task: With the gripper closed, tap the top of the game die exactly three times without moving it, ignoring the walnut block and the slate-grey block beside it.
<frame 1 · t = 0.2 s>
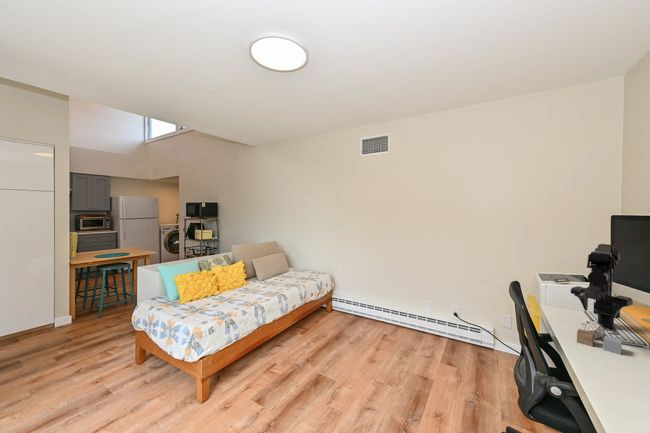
hand: (599, 314, 118), 14 cm above the table, fingers open, 9 cm apart
walnut block: (585, 342, 120), on the table
slate block: (612, 350, 114), on the table
game die: (593, 338, 124), on the table
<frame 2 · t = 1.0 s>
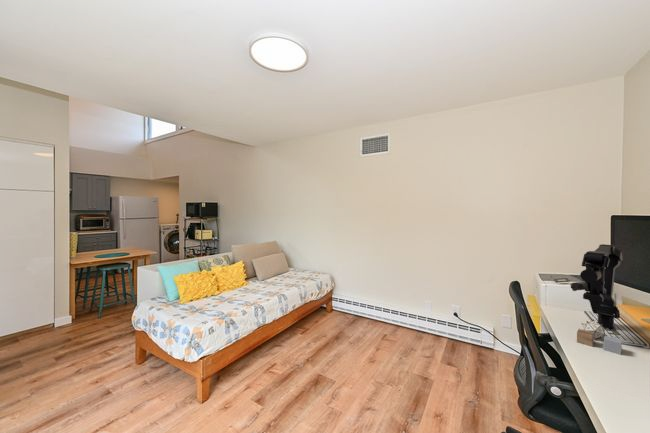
hand: (594, 310, 124), 13 cm above the table, fingers open, 3 cm apart
nothing on the table moved.
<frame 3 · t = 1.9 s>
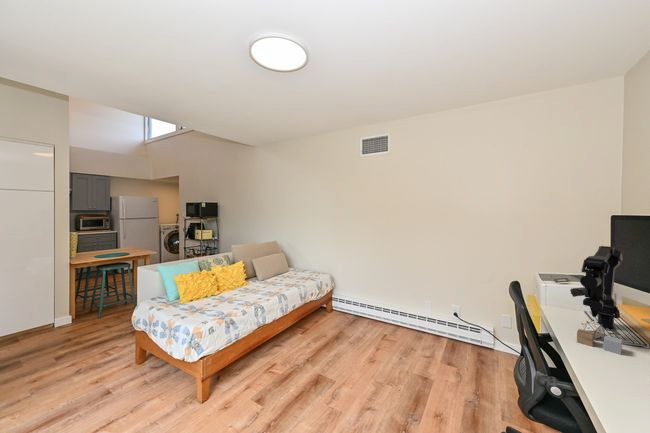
hand: (594, 316, 124), 10 cm above the table, fingers closed
nothing on the table moved.
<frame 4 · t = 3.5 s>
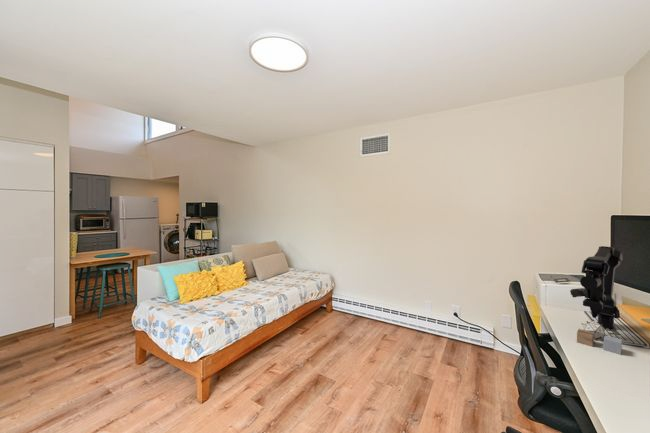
hand: (594, 317, 124), 10 cm above the table, fingers closed
nothing on the table moved.
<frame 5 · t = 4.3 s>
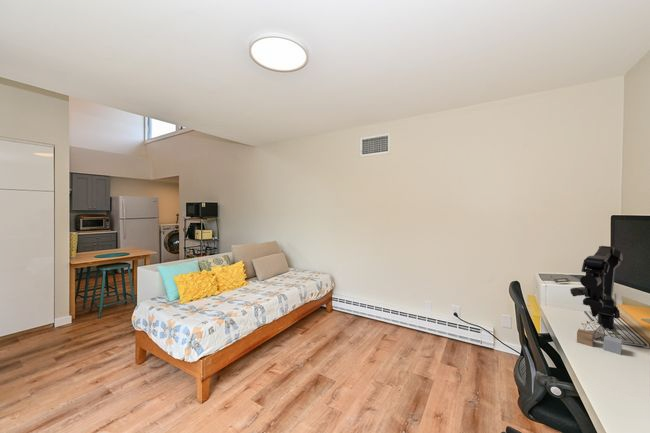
hand: (594, 316, 124), 10 cm above the table, fingers closed
nothing on the table moved.
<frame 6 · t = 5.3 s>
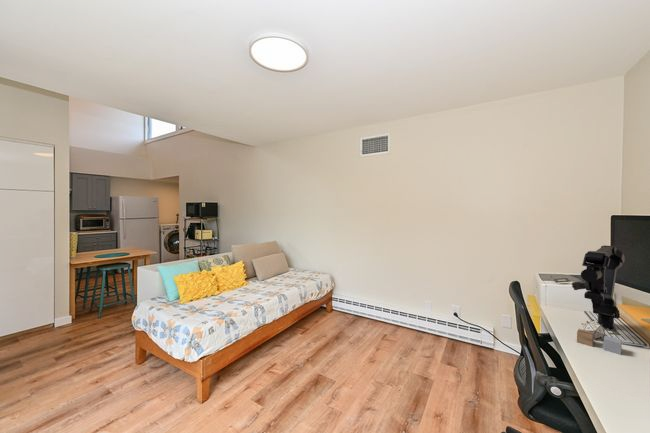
hand: (595, 309, 126), 13 cm above the table, fingers closed
nothing on the table moved.
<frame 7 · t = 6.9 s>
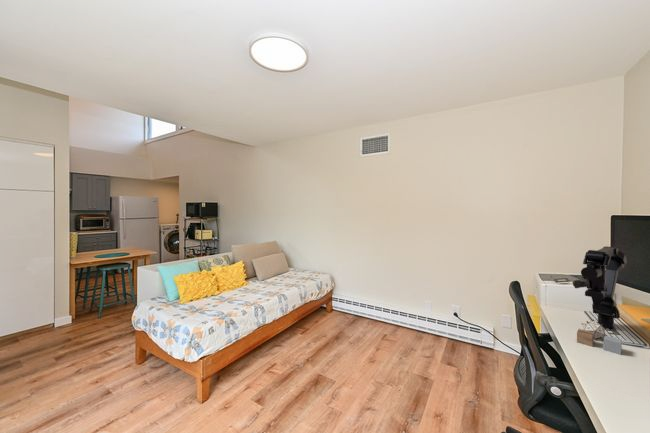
hand: (595, 307, 128), 13 cm above the table, fingers closed
nothing on the table moved.
at the end: game die moved 0.2 cm from its start; game die tilted 0°; walnut block moved 0.1 cm from its start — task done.
